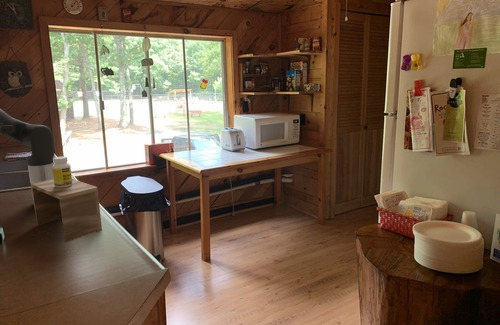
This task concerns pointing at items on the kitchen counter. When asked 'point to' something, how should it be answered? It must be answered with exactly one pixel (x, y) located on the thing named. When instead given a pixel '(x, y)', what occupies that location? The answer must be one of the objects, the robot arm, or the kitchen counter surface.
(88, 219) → the cubby
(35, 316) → the kitchen counter surface
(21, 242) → the kitchen counter surface
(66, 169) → the supplement bottle
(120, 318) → the kitchen counter surface
